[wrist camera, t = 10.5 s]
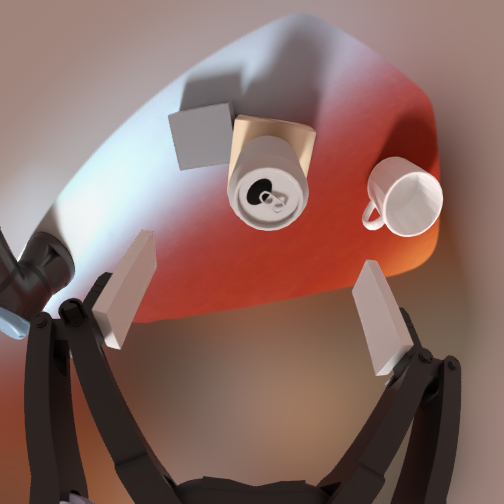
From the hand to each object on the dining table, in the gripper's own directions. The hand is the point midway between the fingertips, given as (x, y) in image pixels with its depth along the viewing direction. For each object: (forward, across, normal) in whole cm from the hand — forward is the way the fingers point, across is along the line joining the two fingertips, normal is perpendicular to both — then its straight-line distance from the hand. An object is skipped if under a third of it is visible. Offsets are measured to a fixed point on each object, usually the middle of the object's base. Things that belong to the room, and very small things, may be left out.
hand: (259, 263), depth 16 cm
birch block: (+27, +1, 0) cm, 27 cm away
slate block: (+27, -8, +2) cm, 28 cm away
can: (+21, +1, 0) cm, 21 cm away
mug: (+27, +21, -2) cm, 34 cm away
